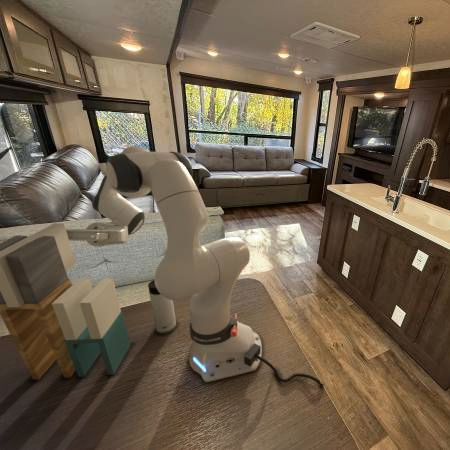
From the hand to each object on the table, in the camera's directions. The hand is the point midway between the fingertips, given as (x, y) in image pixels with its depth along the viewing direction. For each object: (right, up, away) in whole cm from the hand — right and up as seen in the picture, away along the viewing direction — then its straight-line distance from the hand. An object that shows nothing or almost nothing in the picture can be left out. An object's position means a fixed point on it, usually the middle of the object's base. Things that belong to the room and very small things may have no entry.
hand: (76, 236), depth 76 cm
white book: (+2, -12, -11) cm, 16 cm away
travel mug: (+22, -33, +11) cm, 41 cm away
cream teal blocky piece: (+11, -37, -2) cm, 39 cm away
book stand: (0, -37, -4) cm, 37 cm away
